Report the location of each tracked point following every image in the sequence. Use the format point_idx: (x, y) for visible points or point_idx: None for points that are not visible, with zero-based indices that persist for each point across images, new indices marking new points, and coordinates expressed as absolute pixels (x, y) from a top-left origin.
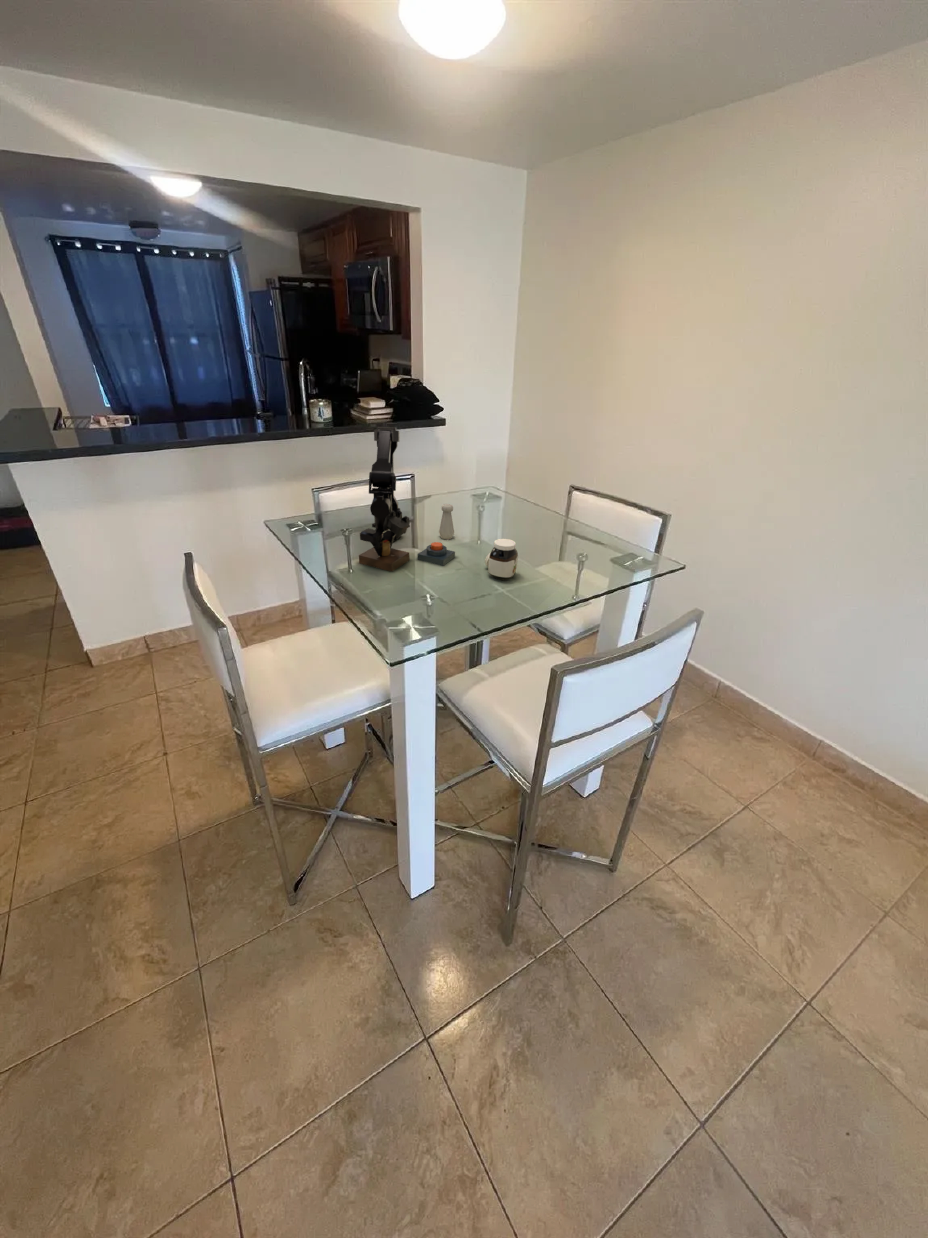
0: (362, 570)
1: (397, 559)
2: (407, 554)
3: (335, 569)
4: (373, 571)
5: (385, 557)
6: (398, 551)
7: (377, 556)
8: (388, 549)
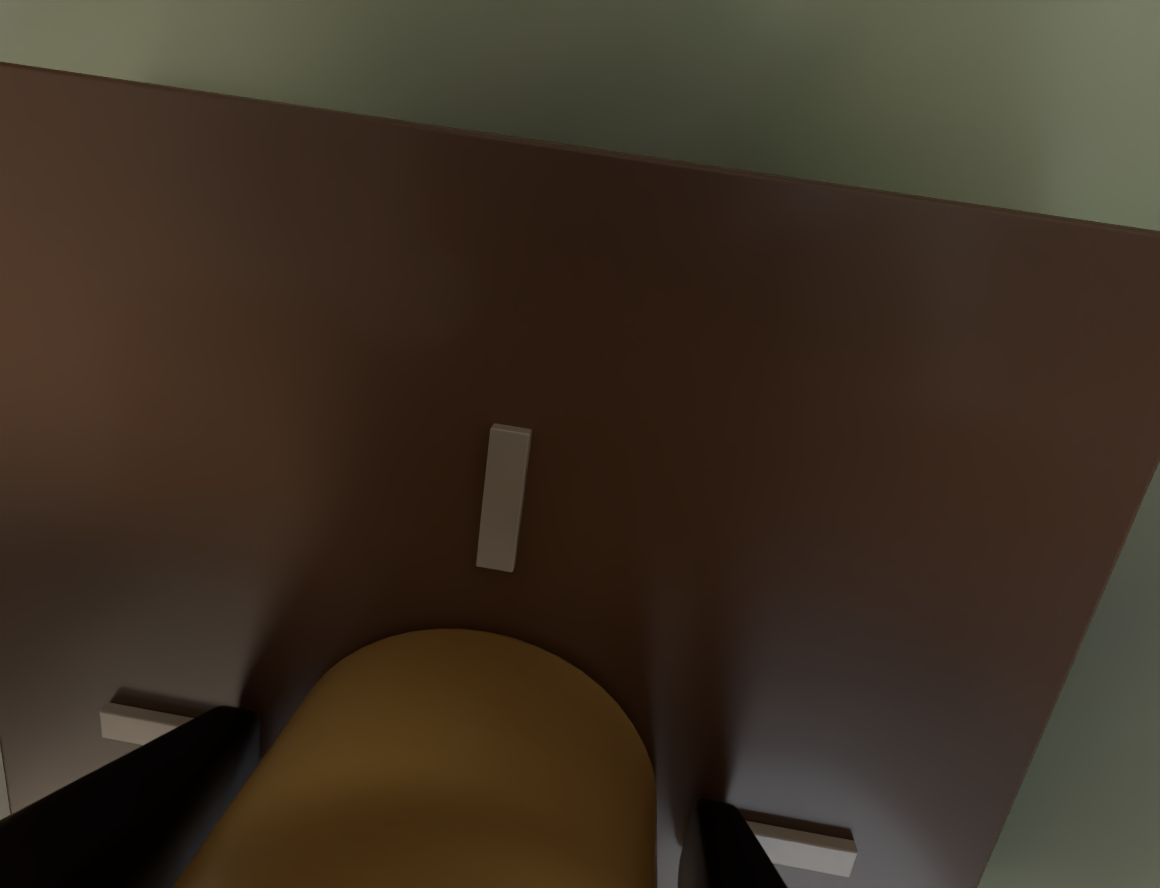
0: (1121, 861)
1: (765, 195)
2: (66, 74)
3: None
4: (1125, 656)
5: (736, 659)
6: (76, 468)
7: None
8: (485, 794)
